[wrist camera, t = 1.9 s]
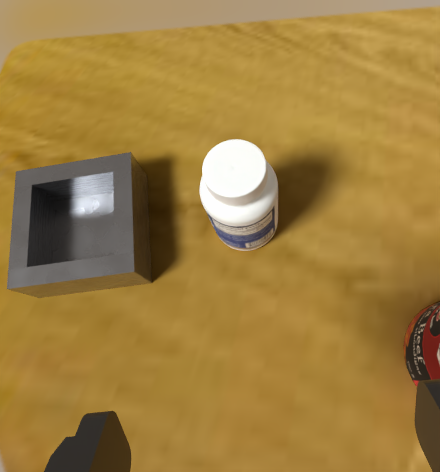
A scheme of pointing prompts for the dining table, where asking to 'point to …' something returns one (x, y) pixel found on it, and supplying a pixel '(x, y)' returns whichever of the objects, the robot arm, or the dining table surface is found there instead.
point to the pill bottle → (240, 194)
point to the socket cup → (80, 227)
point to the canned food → (423, 345)
